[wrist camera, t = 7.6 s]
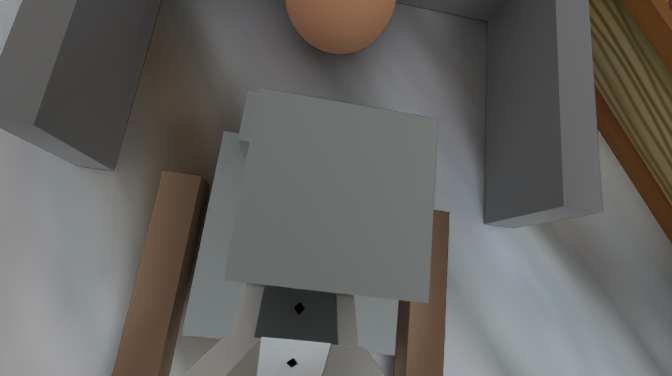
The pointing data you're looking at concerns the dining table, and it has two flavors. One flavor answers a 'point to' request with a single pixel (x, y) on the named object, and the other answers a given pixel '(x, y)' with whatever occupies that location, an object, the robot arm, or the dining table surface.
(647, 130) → the diary
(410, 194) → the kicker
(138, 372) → the lane
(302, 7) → the ball
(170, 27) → the dining table surface
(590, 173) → the grey walled tray
